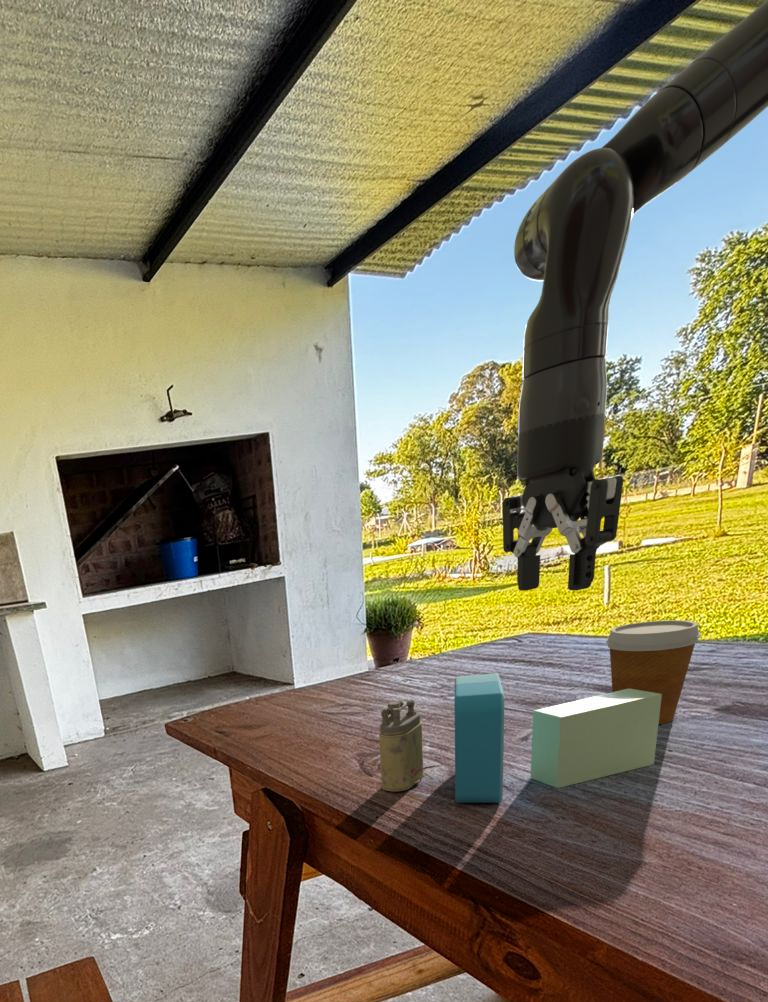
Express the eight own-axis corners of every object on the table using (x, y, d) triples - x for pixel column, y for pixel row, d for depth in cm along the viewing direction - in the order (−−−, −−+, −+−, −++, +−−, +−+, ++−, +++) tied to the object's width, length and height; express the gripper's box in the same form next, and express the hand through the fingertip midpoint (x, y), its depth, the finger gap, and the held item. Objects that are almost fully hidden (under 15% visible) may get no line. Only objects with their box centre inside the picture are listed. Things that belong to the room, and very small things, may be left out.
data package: (455, 769, 76) (454, 674, 72) (496, 768, 74) (498, 670, 70) (455, 807, 66) (454, 699, 62) (502, 807, 64) (505, 696, 60)
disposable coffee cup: (582, 719, 85) (588, 631, 81) (642, 705, 86) (651, 617, 82) (643, 734, 76) (654, 637, 72) (710, 718, 77) (724, 621, 73)
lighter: (401, 771, 79) (398, 695, 75) (431, 773, 76) (429, 695, 73) (376, 790, 74) (371, 711, 71) (407, 794, 72) (403, 712, 68)
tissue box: (621, 755, 72) (627, 687, 69) (654, 764, 68) (662, 693, 65) (529, 777, 70) (531, 710, 67) (557, 788, 66) (561, 717, 64)
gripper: (657, 395, 56) (639, 582, 62) (540, 432, 70) (535, 584, 76) (585, 407, 56) (573, 596, 61) (481, 442, 69) (479, 595, 75)
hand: (552, 589), depth 68 cm, fingers open, 7 cm apart
